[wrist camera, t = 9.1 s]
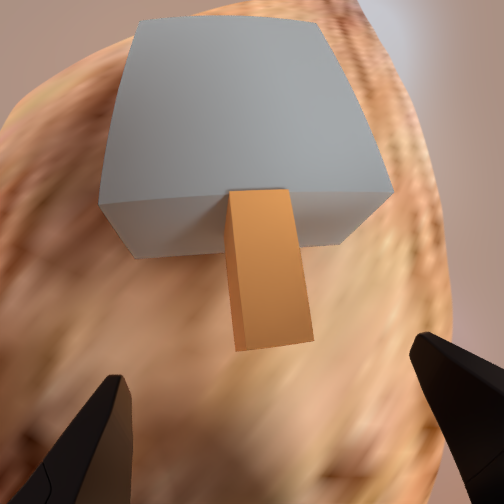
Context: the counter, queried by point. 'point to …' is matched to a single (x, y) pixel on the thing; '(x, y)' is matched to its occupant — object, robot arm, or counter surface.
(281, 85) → the grey boxy piece
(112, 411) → the robot arm
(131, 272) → the counter surface
